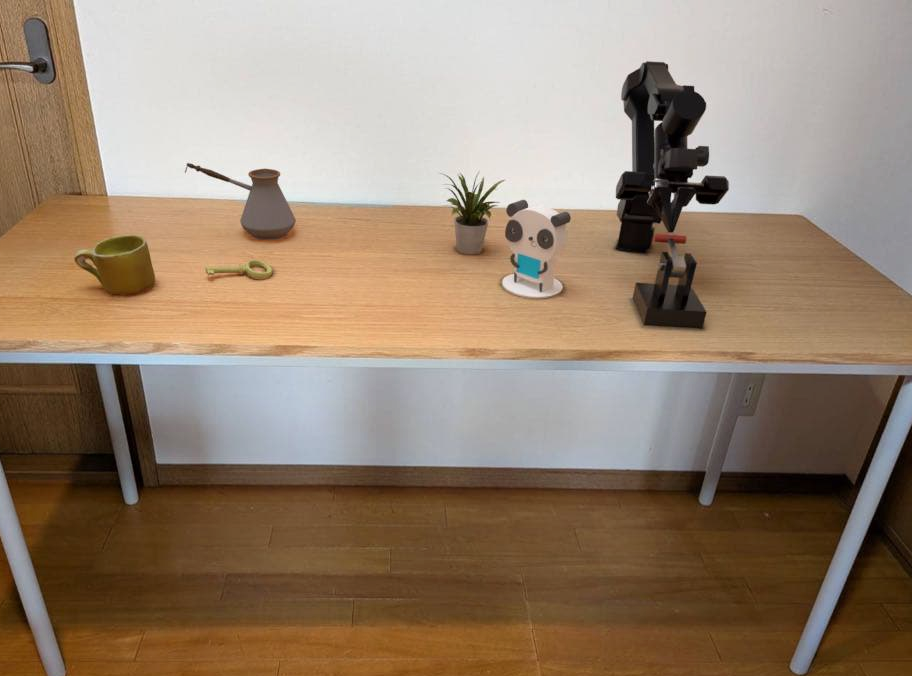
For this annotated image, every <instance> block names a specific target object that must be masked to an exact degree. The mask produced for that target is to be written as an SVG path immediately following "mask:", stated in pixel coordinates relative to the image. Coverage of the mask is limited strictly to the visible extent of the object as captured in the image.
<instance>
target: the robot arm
mask: <svg viewBox="0 0 912 676" xmlns="http://www.w3.org/2000/svg"><path fill="white" fill-rule="evenodd" d="M620 100H621V101H623V112H624V114H625V115H626V116H627V117H628V118H629V120H631V169H632V171H630V170H624V172H623V173H622V174H621V175H620V178H619V179H618V181H617V184H616V186H615V199H617V200H619V201H618V203H617V210H616V216H617V218H618V221H619V222H621V223H620V228H619V233H618V234H619V235H618V240H617V243H616V245H615V248H614V249H615V250H618V251H619V250H620V251H624V252H631V253H636V254H645V255H646V254H647V253H648V250H651V248H652V246H653V243H654V242H653V237H654V234H655V232H656V226H654V224H660V225H661V222H662V223H663V225H664V227H665V230H666V231H667V233H669V234H673V233H674V231H675V230H676V227H677V224H678V222H679V219H680V216H681V213H682V210H683V208H685V207H688V206H689V204H690V202H691V201H692V199H693V198H694V197H695V201H696V202H697V203H699V204H700V205H713V206H714V205H717V204H719V203H720V202H721V200H722V199H723V198H724V197H725V195H726V194H727V193H728V192H729V190H730V181H729V180H728V178H727V177H726V176H723V175H705V176H704V177H703V179H702V180H701V181H700V182H690V181H689V179H692V177H693V176H694V170H698V167H699V168H701V167H702V168H703V167H706V166H708V164H709V161H710V146H709V145H698V146H697V147H695V148H688V137H689V136H691V135H692V134H693V132H694V131H695V129H696V127H697V126H698V124H699V122H700V121H701V119H702V117H703V115H704V114H705V112H706V110H707V102H706V100H705V99H704V97H703V95H701V94H700V93H698V92H697V91H695V85H686V84H685V85H680V84H677V83H676V81H675V80H674V78H673V76H672V75H671V73H670V71H669V64H668V63H666V62H664V61H652V60H651V61H649V60H647V61H645V62H642V63H641V65H640V67H638V68H637V69H635V70H634V71H632V72H630V73H629V74H628V75H627V76H626V78H625V80H624V82H623V84H622V87H621V95H620ZM655 122H660V123H659V124H658V125H656V127H655ZM672 194H673V199H672Z"/></svg>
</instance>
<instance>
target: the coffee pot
mask: <svg viewBox="0 0 912 676" xmlns="http://www.w3.org/2000/svg"><path fill="white" fill-rule="evenodd" d="M188 168H189V169H193V170H195V171H196V172H197V173H198V172H201V173H202V174H205V175H206V176H208V177H211V178H214V179H218V180H220V181H223V182H226V183H230V184H233V185H235V186H238V187H240V188H243V189H245V190H247V191H249V192H248V196H247V199H246V202H245V205H244V208H243V211H242V214H241V217H240V225H241V227H242V229H243V230H244V231H245V232H246V233H247V234H249V235H250V237H252V238H254V239H256V240H262V241H274V240H279V239H283V238H285V237H287V236H288V234H289V233H290V232H291V231H292V230H293V229H294V227H295V225H296V222H297V219H296V216H295V215H294V213H293V211H292V209H291V207H290V205H289V203H288V201H287V199H286V197H285V195H284V193H283V191H282V189H281V187H280V184H279V177H281V172H280V171H279V170H276V169H272V168H259V169H254V170H250V171H249V172H248V174H247V175H248V177H249V178H250V180H251V182H252V183H251V185H250V184H248V183H247V184H246V183H244V182H241V181H238V180H236V179H232V178H230V177H228V176H226V175H224V174H221V173H219V172H217V171H214V170H213V169H208V168H204V167H201V165H194V164H193V163H190V162H187V163H186V167H185V169H184V174H186V173H187V170H188Z"/></svg>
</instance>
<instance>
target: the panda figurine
mask: <svg viewBox="0 0 912 676" xmlns="http://www.w3.org/2000/svg"><path fill="white" fill-rule="evenodd" d="M505 211H506V215H507V216H508V217H510V219H509V220H508V221H507V224H506V226H505V230H504V231H505V232H504V236H505V239H506V241H507V244H508V247H509V248H510V250H511V252H512V254H511V255H510V259H509V261H510V263H511V265H512V266H513V267H514V270H513V271H514V272H513V273H511V274H508V275H506V276H505V277H504V278H503V279H502V282H501V284H502V288H503V289H504V290H505V291H506V292H508V293H511V294H512V295H515V296H517V297H522V298H525V299H549V298H552V297H553V296H555V295H558V294H559V293H561V291H562V290H563V284H562V283H561V281H559V280H558V279H557V278H556V277H555V272H556V263H557V257H559V256H561V255H562V254H563V253H564V251H565V249H566V247H567V244H568V228H567V224H569V223H570V222H571V219H572V217H571V214H570V213H569V212H568V211H563V212H560V213H559V212H558V211H556V210H555V209H553V208H550V207H548V206H544V205H532V206H529V203H528V201H527V200H526V199H521V200H518V201H515V202H512V203H509V204H508V205H507V207H506V210H505Z"/></svg>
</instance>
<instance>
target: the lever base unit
mask: <svg viewBox="0 0 912 676" xmlns="http://www.w3.org/2000/svg"><path fill="white" fill-rule="evenodd" d="M683 257H684V260H685V263H686V270H685V273H684V276H683V278H678V281H677V284H671V283H670V284H669V281H670V278H671V277H670V273H671V268H672V264H673V261H672V259H671V257H670V255H669V251H661V253H660V257H659V262H658V264H657V265H658V266H657V272H656V277H655V281H654V283H651V282H649V283H648V282H635V284H634V291H633V293H632V301H633V303H634V306H635V308H636V311H637V313H638V315H639V318H640V320H641V322H642V325H643V326H647V327H663V328H664V327H665V328H680V329H698V330H699V329H701V330H703V328H704V327H703V326H704V324H705V319H706V316H707V310H706V308H705V307H704V304H703V303H702V301H701V300H700V299H699V297H698V295H697V293H696V292H695V290H694V288H693V287H692V285H693V280H694V278H695V277H694V276H695V272H696V269H697V264H698V263H697V261H696V259H695V258H694V256H693V255H692V253H688V252H685V253H684V256H683Z"/></svg>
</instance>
